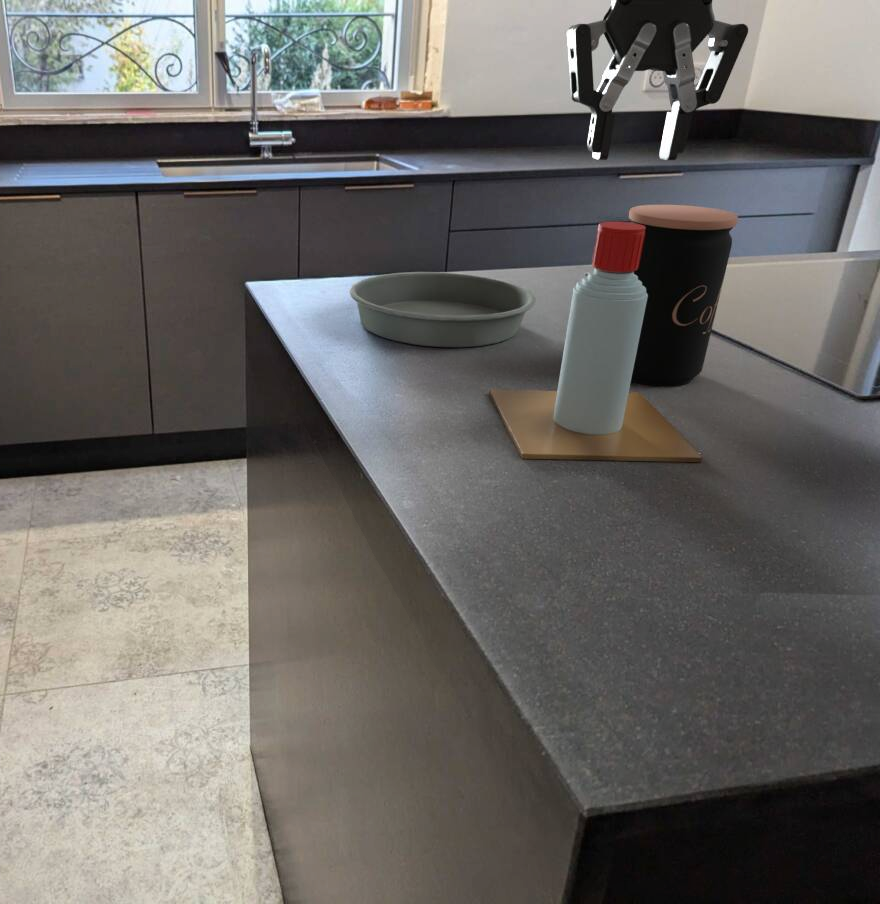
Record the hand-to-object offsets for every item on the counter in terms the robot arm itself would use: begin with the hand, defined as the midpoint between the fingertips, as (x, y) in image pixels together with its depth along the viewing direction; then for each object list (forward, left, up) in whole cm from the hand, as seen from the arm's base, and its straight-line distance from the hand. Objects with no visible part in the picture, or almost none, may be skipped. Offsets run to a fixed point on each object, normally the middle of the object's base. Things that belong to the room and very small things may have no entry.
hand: (633, 158), depth 71 cm
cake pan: (+10, -34, -25) cm, 43 cm away
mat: (0, 0, -25) cm, 25 cm away
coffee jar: (-12, -16, -25) cm, 32 cm away
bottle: (0, 0, -25) cm, 25 cm away
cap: (0, 0, -9) cm, 9 cm away
